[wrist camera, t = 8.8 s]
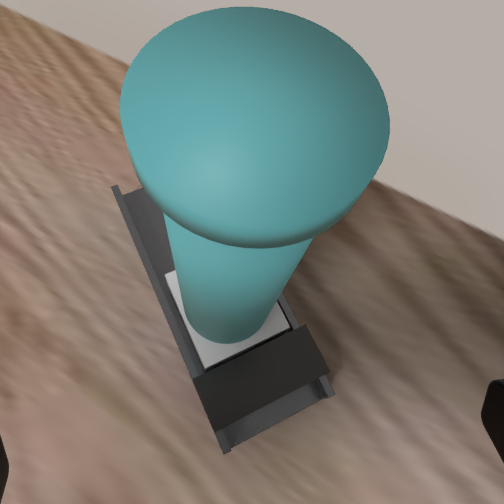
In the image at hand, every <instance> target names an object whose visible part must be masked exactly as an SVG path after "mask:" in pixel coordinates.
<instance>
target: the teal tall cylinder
mask: <svg viewBox="0 0 504 504" xmlns="http://www.w3.org/2000/svg"><path fill="white" fill-rule="evenodd" d="M120 117H121V123H122V128H123V132H124V136H125V139H126V143H127V146H128V149H129V153H130V156H131V160H132V163H133V166H134V169H135V171H136V174H137V177H138V179H139V181H140V183H141V184H142V186H143V188H144V190H145V191H146V193H147V194H148V195H149V197H150V198H151V199H152V201H153V202H154V203H155V204H156V205H157V206H158V207H159V208H160V209H161V210H162V211H163V214H164V219H165V223H166V228H167V233H168V237H169V242H170V247H171V251H172V256H173V260H174V265H175V270H174V271H172V272H170V273H167V274H165V277H166V280H167V284H168V287H169V289H170V291H171V294H172V296H173V298H174V301H175V303H176V305H177V308H178V310H179V312H180V315H181V317H182V319H183V321H184V324H185V326H186V328H187V331H188V333H189V335H190V338H191V340H192V342H193V344H194V347H195V349H196V351H197V354H198V356H199V358H200V361H201V363H202V365H203V367H204V370H205V372H207V371H210V370H212V369H214V368H216V367H218V366H220V365H222V364H224V363H226V362H228V361H230V360H232V359H234V358H236V357H238V356H240V355H243V354H245V353H247V352H249V351H251V350H253V349H255V348H257V347H259V346H261V345H263V344H265V343H267V342H269V341H271V340H273V339H276V338H278V337H280V336H282V335H284V333H285V332H286V331H287V330H288V329H289V328H290V326H289V324H288V322H287V320H286V318H285V316H284V314H283V312H282V310H281V308H280V306H279V305H278V303H277V300H278V298H279V296H280V294H281V293H282V291H283V289H284V288H285V286H286V284H287V282H288V281H289V279H290V277H291V276H292V274H293V272H294V270H295V269H296V267H297V265H298V264H299V262H300V260H301V259H302V257H303V255H304V253H305V252H306V250H307V248H308V247H309V245H310V243H311V241H312V240H313V238H314V237H315V236H317V235H319V234H321V233H323V232H325V231H326V230H328V229H329V228H330V227H332V226H333V225H335V224H336V223H337V222H339V221H340V220H341V219H342V218H343V217H344V216H345V215H346V214H347V213H348V212H349V211H350V209H351V208H352V207H353V205H354V204H355V203H356V202H357V200H358V199H359V197H360V196H361V194H362V193H363V191H364V190H365V189H366V187H367V186H368V184H369V183H370V181H371V180H372V178H373V177H374V175H375V174H376V172H377V170H378V168H379V166H380V165H381V163H382V161H383V158H384V155H385V152H386V149H387V145H388V140H389V134H390V119H389V112H388V106H387V102H386V99H385V96H384V92H383V90H382V88H381V86H380V84H379V81H378V79H377V78H376V76H375V75H374V73H373V71H372V70H371V68H370V67H369V66H368V64H367V63H366V62H365V61H364V60H363V58H362V57H361V56H360V55H359V54H358V53H357V52H356V51H355V50H354V49H353V48H352V47H351V46H350V45H349V44H347V43H346V42H345V41H343V40H342V39H341V38H340V37H338V36H337V35H335V34H334V33H332V32H330V31H329V30H327V29H326V28H324V27H322V26H320V25H318V24H316V23H314V22H312V21H310V20H307V19H305V18H302V17H299V16H297V15H293V14H290V13H286V12H283V11H278V10H273V9H267V8H257V7H229V8H220V9H214V10H210V11H205V12H201V13H198V14H195V15H192V16H189V17H186V18H184V19H182V20H180V21H177V22H175V23H174V24H172V25H170V26H169V27H167V28H165V29H163V30H162V31H161V32H160V33H158V34H157V35H156V36H154V37H153V38H152V39H151V40H150V41H149V42H148V43H147V44H146V45H145V46H144V47H143V48H142V49H141V50H140V52H139V53H138V55H137V56H136V57H135V59H134V60H133V62H132V64H131V66H130V67H129V69H128V71H127V73H126V76H125V80H124V83H123V86H122V91H121V98H120Z"/></svg>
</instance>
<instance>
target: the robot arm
mask: <svg viewBox="0 0 504 504" xmlns="http://www.w3.org/2000/svg"><path fill="white" fill-rule="evenodd" d="M481 418H482V422H483V425H484V427H485V429H486V431H487V433H488V435H489V437H490V439H491V440H492V442H493V444H494V446H495V448H496V450H497V452H498V453H499V455H500V457H501V459H502V461H503V463H504V379H499V380H493V381H492V382H491V383H490V384H489V386H488V389H487V393H486V396H485V400H484V403H483V407H482V411H481ZM8 473H9V463H8V459H7V455H6V452H5V449H4V445H3V442H2V439H1V436H0V504H1V500H2V496H3V493H4V489H5V486H6V482H7V478H8Z"/></svg>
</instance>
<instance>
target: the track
mask: <svg viewBox="0 0 504 504" xmlns="http://www.w3.org/2000/svg"><path fill="white" fill-rule="evenodd" d="M111 188H112V191H113V193H114V196H115V198H116V200H117V203H118V205H119V208H120V210H121V212H122V215H123V217H124V219H125V222H126V224H127V227H128V229H129V231H130V234H131V236H132V238H133V241H134V243H135V246H136V248H137V250H138V253H139V255H140V257H141V260H142V262H143V265H144V267H145V269H146V272H147V274H148V276H149V279H150V281H151V283H152V286H153V288H154V291H155V293H156V295H157V298H158V300H159V302H160V305H161V307H162V310H163V312H164V314H165V317H166V319H167V321H168V324H169V326H170V328H171V331H172V333H173V336H174V338H175V340H176V343H177V345H178V347H179V350H180V352H181V355H182V357H183V359H184V362H185V364H186V366H187V369H188V371H189V374H190V376H191V378H192V381H193V383H194V385H195V388H196V390H197V392H198V395H199V397H200V400H201V402H202V404H203V407H204V409H205V411H206V414H207V416H208V419H209V421H210V423H211V426H212V428H213V430H214V433H215V435H216V437H217V440H218V442H219V445H220V447H221V449H222V452H223V454H226V453H228V452H230V451H231V448H233V447H234V446H236V445H238V444H240V443H242V442H244V441H246V440H247V439H249V438H251V437H253V436H255V435H257V434H258V433H260V432H262V431H264V430H266V429H268V428H270V427H271V426H273V425H275V424H277V423H279V422H281V421H282V420H284V419H286V418H288V417H290V416H292V415H294V414H295V413H297V412H299V411H301V410H303V409H305V408H306V407H308V406H310V405H312V404H314V403H316V402H318V401H319V400H321V399H324V398H329V397H331V396H333V395H335V392H334V390H333V389H332V387H331V385H330V383H329V381H328V379H327V377H326V375H325V374H327V373H329V372H330V370H329V368H328V367H327V365H326V363H325V361H324V359H323V357H322V355H321V353H320V351H319V349H318V348H317V346H316V344H315V342H314V340H313V338H312V336H311V334H310V332H309V330H308V329H307V327H306V325H303V326H301V327H300V325H299V323H298V322H297V320H296V318H295V316H294V314H293V312H292V310H291V308H290V306H289V304H288V302H287V300H286V299H285V297H284V295H283V293H281V294H280V296H279V298H278V300H277V303H278V305H279V306H280V308H281V310H282V312H283V314H284V316H285V318H286V320H287V322H288V324H289V326H290V328H289V329H288V330H287V331H286V332H285V333H284V335H282V336H280V337H278V338H276V339H273V340H271V341H269V342H267V343H265V344H263V345H261V346H259V347H257V348H255V349H253V350H251V351H249V352H247V353H245V354H243V355H240V356H238V357H236V358H234V359H232V360H230V361H228V362H226V363H224V364H222V365H220V366H218V367H216V368H214V369H212V370H210V371H207V372H205V370H204V367H203V365H202V363H201V361H200V358H199V356H198V354H197V351H196V349H195V347H194V344H193V342H192V340H191V338H190V335H189V333H188V331H187V328H186V326H185V324H184V321H183V319H182V317H181V315H180V312H179V310H178V308H177V305H176V303H175V301H174V298H173V296H172V294H171V291H170V289H169V287H168V284H167V280H166V277H165V274H167V273H170V272H172V271H174V270H175V265H174V260H173V256H172V251H171V247H170V242H169V237H168V233H167V228H166V223H165V219H164V214H163V211H162V210H161V209H160V208H159V207H158V206H157V205H156V204H155V203H154V202H153V201H152V199H151V198H150V197H149V195H148V194H147V193H146V191H145V190H144V188H142V189H139V190H136V191H133V192H130V193H128V194H125V195H122V194H121V192H120V190H119V187H118V185H115V186H112V187H111Z"/></svg>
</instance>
